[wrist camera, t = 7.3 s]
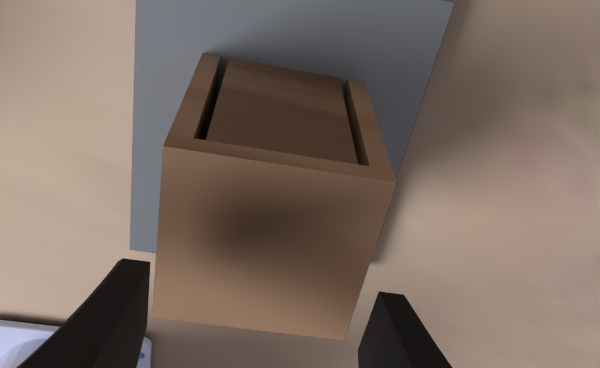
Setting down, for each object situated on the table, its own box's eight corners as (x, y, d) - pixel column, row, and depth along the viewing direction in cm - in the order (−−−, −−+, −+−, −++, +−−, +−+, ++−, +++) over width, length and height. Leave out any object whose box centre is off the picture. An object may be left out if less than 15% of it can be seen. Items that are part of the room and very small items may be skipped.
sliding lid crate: (329, 212, 21) (343, 340, 16) (188, 191, 21) (152, 317, 15) (364, 82, 18) (397, 182, 13) (202, 53, 18) (162, 146, 12)
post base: (359, 265, 24) (375, 353, 20) (135, 234, 23) (101, 321, 19) (446, -4, 18) (494, 41, 14) (145, -64, 17) (96, -34, 13)
